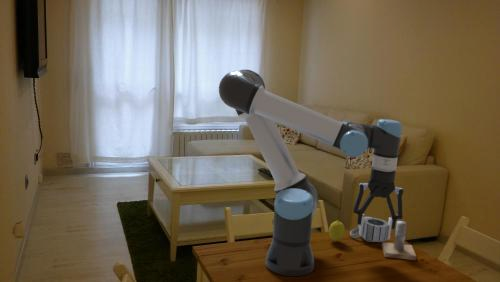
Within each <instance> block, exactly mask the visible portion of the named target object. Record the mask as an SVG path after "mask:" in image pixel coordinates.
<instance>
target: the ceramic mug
mask: <svg viewBox="0 0 500 282" xmlns="http://www.w3.org/2000/svg"><path fill="white" fill-rule="evenodd" d="M365 218H373V217H371V216H365ZM365 218H364V219H365ZM357 226H358V227H355V228H354V229H352V230H350V231H349V235H350V237H351V238H353V239H358V238H362V239H363V240H364V241H366V242H369V243H374V242H375V241H370V240H367V239H365V238H364V237H362V236H360V234H359V229H360V225H358V224H357Z"/></svg>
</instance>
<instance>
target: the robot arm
mask: <svg viewBox="0 0 500 282" xmlns="http://www.w3.org/2000/svg"><path fill="white" fill-rule="evenodd" d="M218 85H219V86H218V93H219V96H220V97H219V98H220V99H221V101H222V102H223V104H225V106H228V107H229V108H231V109H235V112H236V114H237V116H238V118H239V117H240V118H242V119H244V120H245V122H246V124H247V126H248V129H249V130H250V132H251V134H252V136H253V139H254V141H255V143H256V145H257V147H258V149H259V151H260V154H261V155H262V157H263V159H264V161H265V164H266V165H267V167H268V170H269V172H270V174H271V176H272V178H273V180H274V183H275V185H274V188H273V190H274V192H275V195H276V196H275V198H274V199H275V200H274V201H273V202H274V203H273V205H274V206H273V207H274V212H273V227H272V229H273V230H272V241H271V243H270V246H269V247H268V250H267V252H266V256H265V266H266V268H267V269H268V270H270V271H271V272H273V273H275V274H278V275H282V276H285V277H287V276H288V277H301V276H302V277H303V276H306V275H308V274H310V273H312V272H313V270H314V267H315V257H314V254H313V251H312V247H311V236H312V235H311V233H312V223H313V222H312V221H313V218H314V214H315V213H316V210H317V208H318V204H319V195H318V192H317V190H316V188H315V187H314V185H313V184H311V183H310V181H309V180H308V178H307V175H306V174H305V173H302V172H300V171H299V170H298V168H297V165H296V163H295V161H294V159H293V156H292V155H291V152H290V151H289V149H288V146H287V144H286V142H285V141H284V138H283V136H282V133H281V132H280V129H279V127H278V125H277V124H279V125H282V126H283V127H287V128H289V129H291V130H294V131H295V132H298V133H300V134H303V135H305V136H308V137H310V138H311V139H312V138H313V139H315V140H317V141H320V142H321V143H324V144H326V145H329V146H331V147H333V148H335V149H337V150H339V151H342V153H343V154H344V155H346V156H347V157H350V158H358V157H360V156H362V155H363V154H364V153H365V152H366V151H367V149H369V150H370V149H373V155H372V162H371V166H372V167H371V168H370V176H369V181H368V182H367V183H364V182H360V183H359V184H358V186H359V189H358V192H357V196H356V198H355V201H354V205H353V208H352V212H353V213H354V214H357V220H356V222H357V223H356V224H357V226H358V225H360V229H359V231H358V233H359V234H360V236H362V233H363V225H364V218H365V217H366V216H365V214H364V213H365V212H366V210H368V209H367V208H368V207H369V206H370V204H371V202H372V201H373V200H374V199H375V198H383V199H385V200H386V202H387V203H386V204H387V206H388V209H389V213H390V216H391V217H388V221H387V222H388V223H389V229H388V236H387V240H391V233H392V230H395V229H396V224H397V221H398V220H402V219H403V194H404V189H403V188H402V187H401V186H400V187H397V186H395V181H396V173H397V172H396V170H397V165H398V158H399V152H400V145H401V140H402V132H403V131H402V129H403V124H402V123H401V122H400V121H398V120H393V119H387V118H386V119H384V118H382V119H381V118H380V119H378V120H377V123H376V124H367V123H366V124H365V123H361V122H360V123H358V122H352V121H339V120H336V119H334V118H332V117H330V116H328V115H324V114H322V113H320V112H317V111H315V110H313V109H310V108H309V107H305V106H303V105H301V104H298V103H296V102H294V101H292V100H289V99H286V98H284V97H282V96H280V95H277V94H274V93H273V92H270V91H267V90H266V84H265V81H264V79H263V77H262V76H261V75H260V74H259V73H258V72H256V71H253V70H251V69H241V70H233V71H230V72H228V73H226V74H225V75H224V76H223V77H222V78H221V80H220V82H219V84H218ZM367 188H368V189H369V191H370V192H369V194H368V195H367V197H366V199H365V200H364V202H363V203H362V205H361V202H362V198H363V195H364V193H365V191H366V189H367ZM393 192H395V195H396V212H395V209H394V206H393V202H392V200H391V197H390V196H391V194H392V193H393ZM360 205H361V206H360Z"/></svg>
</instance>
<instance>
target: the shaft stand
mask: <svg viewBox="0 0 500 282" xmlns="http://www.w3.org/2000/svg"><path fill="white" fill-rule="evenodd" d="M407 228H408V223H407V222H406V221H404V220H396V224H395V235H394V243H393V242H386V241H384V242H381V248H382V252H383V255H384V258H392V259H402V260H403V259H404V260H411V261H417V255H416V252H415V250H414V247H413V245H411V244H405V242H406V236H407Z"/></svg>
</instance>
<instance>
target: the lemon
mask: <svg viewBox="0 0 500 282" xmlns="http://www.w3.org/2000/svg"><path fill="white" fill-rule="evenodd" d="M345 233H346V231H345V225H344V223H342V222H341V221H339V220H336V221H333V222H332V223H331V224H330V225H329V230H328V234H329V237H330V239H331V240H333V241H334V242H335V243H337V242H338V241H341V240H342V239H344V237H345Z"/></svg>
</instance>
